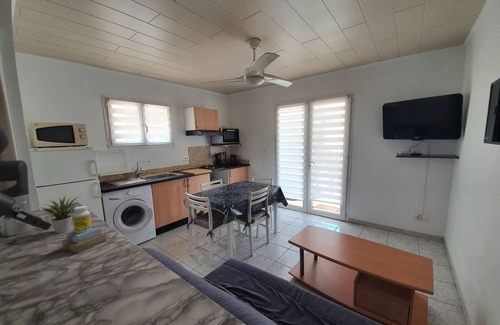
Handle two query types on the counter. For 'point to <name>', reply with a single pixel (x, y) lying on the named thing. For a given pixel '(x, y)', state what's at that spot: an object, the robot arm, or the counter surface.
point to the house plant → (61, 215)
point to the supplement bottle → (81, 219)
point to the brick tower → (83, 239)
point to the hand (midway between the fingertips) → (42, 225)
